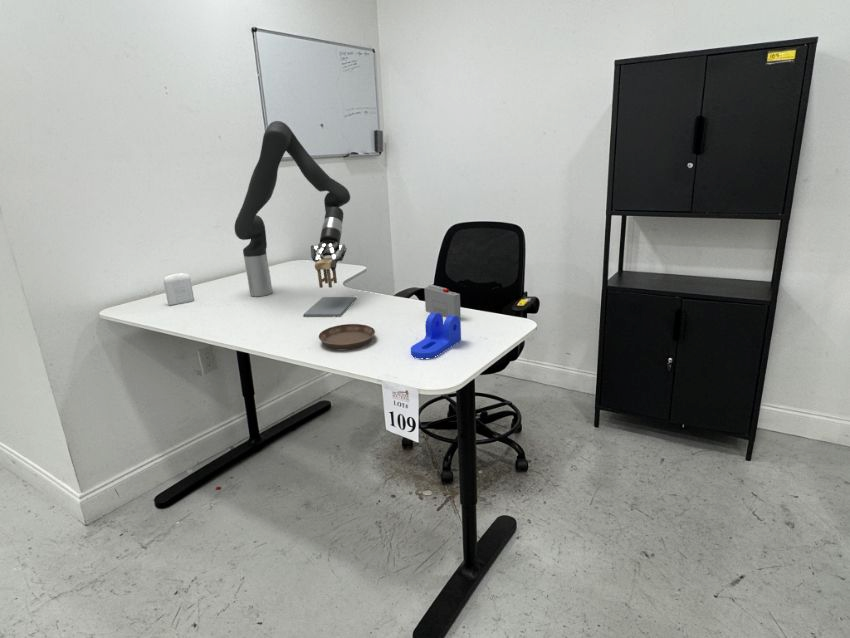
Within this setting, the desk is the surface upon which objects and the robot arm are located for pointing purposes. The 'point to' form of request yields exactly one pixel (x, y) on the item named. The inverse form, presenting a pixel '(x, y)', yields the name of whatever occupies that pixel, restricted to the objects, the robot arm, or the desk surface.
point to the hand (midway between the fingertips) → (324, 269)
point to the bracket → (437, 336)
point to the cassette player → (442, 301)
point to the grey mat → (330, 307)
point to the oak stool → (325, 271)
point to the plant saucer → (347, 336)
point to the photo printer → (178, 288)
